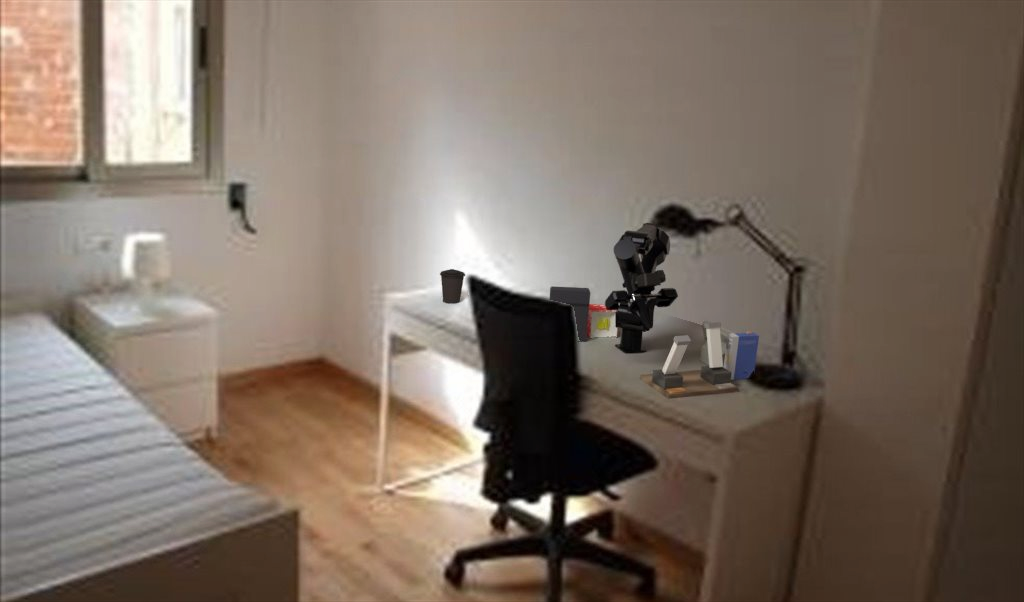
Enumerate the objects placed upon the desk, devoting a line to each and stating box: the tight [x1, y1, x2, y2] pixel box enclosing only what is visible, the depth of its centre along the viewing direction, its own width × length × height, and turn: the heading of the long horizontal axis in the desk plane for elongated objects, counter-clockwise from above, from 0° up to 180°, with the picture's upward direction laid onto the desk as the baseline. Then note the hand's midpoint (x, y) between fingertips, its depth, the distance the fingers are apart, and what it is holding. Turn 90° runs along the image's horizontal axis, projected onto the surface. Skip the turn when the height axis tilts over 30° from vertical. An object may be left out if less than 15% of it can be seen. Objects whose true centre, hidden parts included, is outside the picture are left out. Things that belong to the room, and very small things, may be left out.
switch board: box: [639, 365, 740, 399], centre depth 238 cm, size 14×20×4 cm
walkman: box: [724, 331, 760, 380], centre depth 245 cm, size 8×3×12 cm, turn 107°
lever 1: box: [662, 334, 692, 374], centre depth 230 cm, size 2×4×11 cm, turn 113°
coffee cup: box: [439, 268, 466, 305], centre depth 300 cm, size 8×8×10 cm
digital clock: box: [699, 320, 734, 368], centre depth 254 cm, size 16×9×11 cm, turn 12°
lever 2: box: [704, 321, 723, 368], centre depth 240 cm, size 2×4×11 cm, turn 111°
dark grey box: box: [548, 285, 591, 343], centre depth 268 cm, size 11×4×15 cm, turn 92°
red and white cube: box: [587, 303, 618, 339], centre depth 276 cm, size 8×8×8 cm
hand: (650, 327), depth 241 cm, fingers closed
